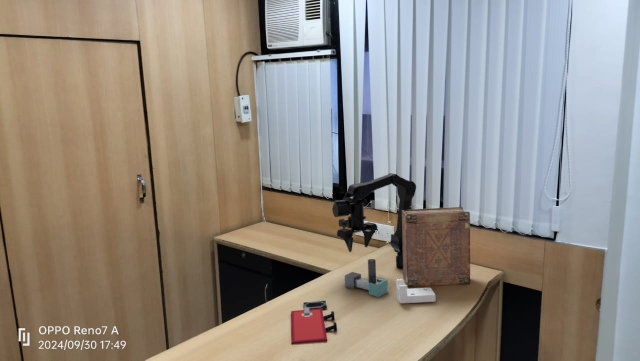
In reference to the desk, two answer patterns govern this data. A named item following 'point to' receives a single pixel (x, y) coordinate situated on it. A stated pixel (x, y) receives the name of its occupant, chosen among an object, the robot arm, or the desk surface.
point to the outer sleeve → (351, 280)
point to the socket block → (378, 288)
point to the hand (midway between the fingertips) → (358, 249)
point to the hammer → (371, 276)
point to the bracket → (413, 293)
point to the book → (436, 246)
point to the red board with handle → (310, 323)
